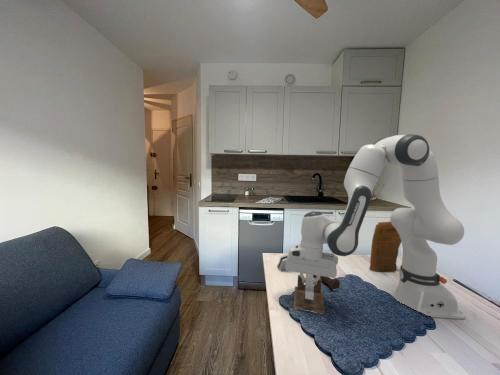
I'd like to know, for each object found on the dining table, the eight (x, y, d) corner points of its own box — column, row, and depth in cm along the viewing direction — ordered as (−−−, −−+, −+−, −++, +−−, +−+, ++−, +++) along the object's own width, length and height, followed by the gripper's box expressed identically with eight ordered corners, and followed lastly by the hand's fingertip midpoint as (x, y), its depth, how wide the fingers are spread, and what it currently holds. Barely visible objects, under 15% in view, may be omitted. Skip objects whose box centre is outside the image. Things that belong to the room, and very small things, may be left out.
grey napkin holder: (304, 264, 124) (308, 250, 120) (307, 270, 120) (311, 257, 116) (276, 266, 121) (278, 252, 117) (278, 272, 117) (281, 258, 113)
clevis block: (322, 292, 97) (323, 277, 96) (325, 315, 82) (326, 297, 82) (295, 288, 100) (295, 273, 99) (292, 309, 86) (293, 292, 85)
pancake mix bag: (405, 272, 117) (410, 221, 114) (372, 274, 115) (376, 222, 112) (395, 266, 124) (400, 218, 121) (364, 267, 121) (368, 218, 118)
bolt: (313, 278, 113) (337, 293, 99) (307, 275, 111) (330, 290, 97) (317, 268, 114) (341, 280, 100) (311, 264, 112) (335, 277, 98)
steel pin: (312, 278, 98) (312, 272, 97) (313, 299, 82) (313, 292, 82) (305, 277, 99) (306, 271, 98) (305, 298, 83) (305, 291, 83)
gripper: (337, 251, 89) (335, 283, 91) (287, 245, 94) (285, 275, 96) (339, 257, 83) (337, 292, 85) (285, 251, 88) (284, 283, 90)
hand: (309, 283), depth 90 cm, fingers closed on steel pin, 3 cm apart
